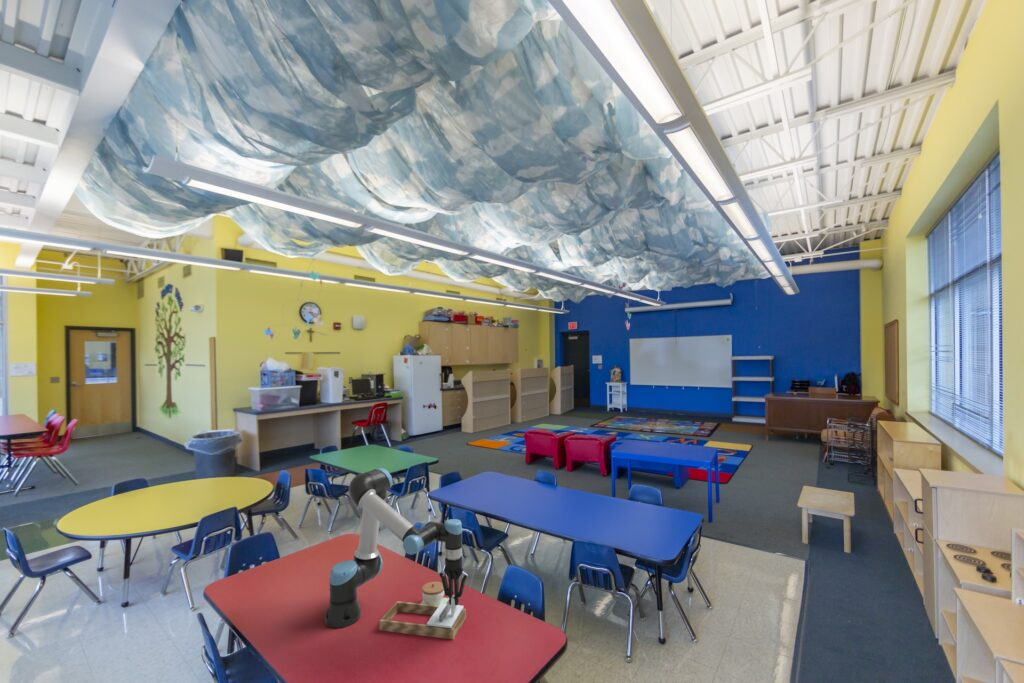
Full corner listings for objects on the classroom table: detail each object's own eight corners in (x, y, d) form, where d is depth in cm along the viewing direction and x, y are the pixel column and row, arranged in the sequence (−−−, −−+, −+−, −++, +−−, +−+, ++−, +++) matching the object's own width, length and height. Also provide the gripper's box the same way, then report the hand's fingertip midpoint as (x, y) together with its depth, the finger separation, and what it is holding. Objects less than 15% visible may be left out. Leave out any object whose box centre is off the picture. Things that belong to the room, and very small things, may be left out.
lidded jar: (440, 610, 201) (440, 589, 202) (418, 608, 203) (418, 588, 204) (447, 598, 212) (447, 578, 213) (427, 596, 214) (426, 577, 214)
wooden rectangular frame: (379, 630, 188) (379, 620, 188) (397, 609, 204) (397, 601, 204) (453, 639, 181) (453, 629, 181) (465, 617, 196) (465, 608, 197)
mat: (416, 610, 203) (416, 608, 203) (426, 596, 215) (426, 595, 215) (440, 612, 201) (440, 611, 201) (449, 599, 212) (449, 598, 212)
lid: (426, 625, 184) (426, 617, 184) (440, 605, 199) (440, 597, 199) (451, 628, 181) (451, 619, 181) (463, 607, 197) (463, 599, 197)
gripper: (436, 559, 189) (436, 615, 187) (464, 561, 186) (465, 618, 185) (442, 552, 196) (443, 605, 195) (470, 554, 193) (470, 609, 192)
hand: (453, 612), depth 190 cm, fingers closed
